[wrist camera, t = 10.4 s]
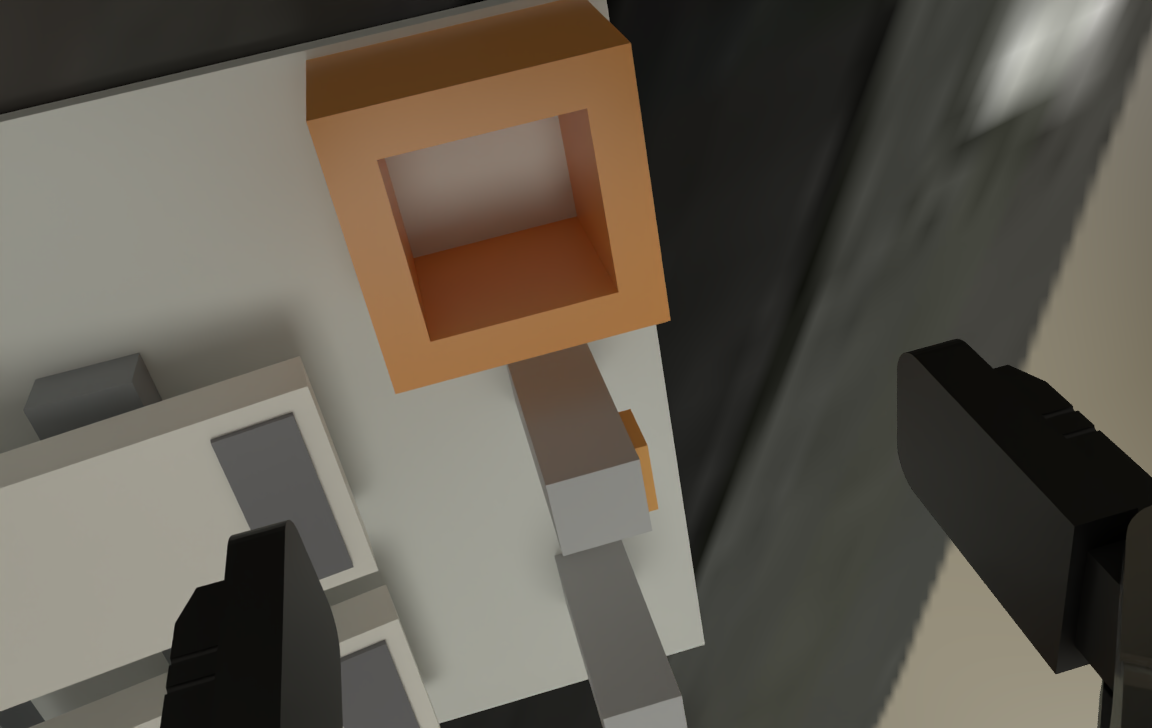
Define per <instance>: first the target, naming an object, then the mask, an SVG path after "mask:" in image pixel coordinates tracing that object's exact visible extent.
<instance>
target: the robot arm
mask: <svg viewBox="0 0 1152 728" xmlns="http://www.w3.org/2000/svg"><path fill="white" fill-rule="evenodd" d="M897 448H898V455H899V460H900V463H901V467H902V470H903V472H904V475H905V477H906V479H907V481H908V483H909V485H910V487H911V489H912V490H913V491H914V493H915V494H916V495H917V497H918V498H919V499H920V501H921V502H922V503H923V504H924V506H925V507H926V508H927V510H928V511H929V512H930V513H931V515H932V516H933V517H934V519H935V520H936V521H937V522H938V524H939V525H940V526H941V528H942V529H943V530H944V531H945V533H946V534H947V535H948V537H949V538H950V539H951V540H952V542H953V543H954V544H955V546H956V547H957V548H958V549H959V551H960V552H961V553H962V554H963V556H964V557H965V558H966V560H967V561H968V562H969V564H970V565H971V566H972V567H973V569H974V570H975V571H976V572H977V574H978V575H979V576H980V578H981V579H982V580H983V581H984V583H985V584H986V585H987V586H988V588H989V589H990V590H991V592H992V593H993V594H994V596H995V597H996V598H997V599H998V601H999V602H1000V603H1001V605H1002V606H1003V607H1004V608H1005V610H1006V611H1007V612H1008V614H1009V615H1010V616H1011V617H1012V619H1013V620H1014V621H1015V623H1016V624H1017V625H1018V626H1019V628H1020V629H1021V630H1022V632H1023V633H1024V634H1025V635H1026V637H1027V638H1028V639H1029V641H1030V642H1031V643H1032V644H1033V646H1034V647H1035V648H1036V649H1037V651H1038V652H1039V653H1040V655H1041V656H1042V657H1043V659H1044V660H1045V661H1046V662H1047V664H1048V665H1049V666H1050V667H1051V669H1052V670H1053V671H1054V673H1055V674H1058V673H1061V672H1065V671H1068V670H1071V669H1074V668H1078V667H1081V666H1084V665H1087V664H1090V665H1091V666H1092V667H1093V668H1094V669H1095V670H1096V672H1097V673H1098V674H1099V675H1100V677H1101V678H1102V685H1101V691H1100V698H1099V712H1098V726H1097V728H1152V477H1151V476H1150V475H1149V474H1147V473H1146V472H1145V471H1144V470H1143V469H1142V468H1141V467H1140V466H1139V465H1137V464H1136V463H1135V462H1134V461H1133V460H1132V459H1131V458H1130V457H1129V456H1128V455H1126V454H1125V453H1124V452H1123V451H1122V450H1121V449H1120V448H1119V447H1117V445H1115V444H1114V443H1113V442H1112V441H1111V440H1110V439H1109V438H1108V437H1107V436H1105V435H1104V434H1103V433H1102V432H1101V431H1100V430H1099V431H1096V430H1095V428H1094V425H1093V424H1092V423H1091V422H1090V421H1089V420H1088V419H1087V418H1086V417H1085V416H1083V415H1082V414H1081V413H1080V412H1079V411H1074V410H1073V406H1072V405H1071V404H1070V403H1069V402H1068V401H1067V400H1066V399H1065V398H1064V397H1062V396H1061V395H1060V394H1059V393H1058V392H1057V391H1056V390H1055V389H1054V388H1052V387H1051V386H1050V385H1049V384H1048V383H1047V382H1046V381H1043V380H1041V379H1039V378H1037V377H1034V376H1032V375H1030V374H1028V373H1025V372H1023V371H1021V370H1019V369H1016V368H1014V367H1012V366H1010V365H1005V366H1002V367H998V368H994V369H993V368H992V367H991V366H990V365H989V364H988V363H987V362H986V361H985V360H984V359H983V358H981V357H980V356H979V355H978V354H977V353H976V352H975V351H974V350H973V349H972V348H971V347H970V346H969V345H968V344H967V343H965V342H964V341H962V340H960V339H954V340H950V341H946V342H943V343H939V344H936V345H932V346H928V347H925V348H921V349H917V350H914V351H910V352H906V353H903V354H902V355H901V356H900V358H899V361H898V366H897ZM170 660H171V665H169V668H168V675H167V682H166V690H167V694H166V695H165V696H164V703H163V710H162V716H161V723H160V728H343V715H342V687H341V660H340V646H339V639H338V633H337V629H336V624H335V620H334V617H333V613H332V610H331V607H330V605H329V602H328V600H327V597H326V595H325V593H324V590H323V588H322V586H321V583H320V581H319V579H318V576H317V574H316V572H315V569H314V567H313V565H312V562H311V560H310V558H309V555H308V553H307V551H306V548H305V546H304V544H303V541H302V539H301V537H300V534H299V532H298V530H297V528H296V526H295V525H294V523H293V522H292V521H291V520H285V521H282V522H278V523H275V524H271V525H267V526H264V527H260V528H256V529H253V530H249V531H245V532H242V533H238V534H234V535H231V536H230V538H229V540H228V545H227V555H226V566H225V576H224V580H222V581H219V582H215V583H212V584H208V585H204V586H201V587H197V588H196V589H195V591H194V593H193V594H192V596H191V597H190V599H189V601H188V602H187V604H186V606H185V607H184V609H183V611H182V612H181V614H180V616H179V617H178V619H177V621H176V622H175V626H174V633H173V640H172V647H171V654H170Z"/></svg>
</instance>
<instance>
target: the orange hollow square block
mask: <svg viewBox="0 0 1152 728" xmlns="http://www.w3.org/2000/svg"><path fill="white" fill-rule="evenodd" d="M554 116H558V118H559V124H560V129H561V134H562V139H563V145H564V150H565V155H566V161H567V166H568V171H569V177H570V182H571V187H572V192H573V198H574V203H575V208H576V214H577V216H576V217H572V218H568V219H564V220H561V221H557V222H553V223H549V224H545V225H541V226H537V227H533V228H529V229H525V230H521V231H518V232H514V233H510V234H506V235H502V236H498V237H494V238H490V239H486V240H482V241H479V242H475V243H471V244H467V245H463V246H459V247H455V248H451V249H447V250H443V251H439V252H436V253H432V254H428V255H424V256H420V257H416V258H413V254H412V251H411V247H410V244H409V241H408V237H407V234H406V230H405V227H404V223H403V220H402V216H401V213H400V210H399V206H398V203H397V199H396V196H395V192H394V189H393V185H392V182H391V179H390V175H389V172H388V168H387V165H386V161H385V158H387V157H391V156H396V155H400V154H404V153H408V152H412V151H416V150H420V149H424V148H428V147H432V146H436V145H440V144H444V143H448V142H452V141H456V140H460V139H464V138H468V137H473V136H477V135H481V134H485V133H489V132H493V131H497V130H501V129H505V128H509V127H513V126H517V125H521V124H525V123H529V122H533V121H537V120H541V119H546V118H550V117H554ZM306 123H307V126H308V129H309V132H310V135H311V138H312V141H313V144H314V147H315V150H316V153H317V156H318V159H319V162H320V165H321V168H322V171H323V174H324V177H325V181H326V184H327V187H328V190H329V193H330V196H331V199H332V202H333V205H334V208H335V211H336V214H337V217H338V220H339V223H340V226H341V229H342V232H343V235H344V238H345V242H346V245H347V248H348V251H349V254H350V257H351V260H352V263H353V266H354V269H355V272H356V275H357V278H358V281H359V284H360V287H361V290H362V293H363V296H364V299H365V303H366V306H367V309H368V312H369V315H370V318H371V321H372V324H373V327H374V330H375V333H376V336H377V339H378V342H379V345H380V348H381V351H382V354H383V357H384V361H385V364H386V367H387V370H388V373H389V376H390V379H391V382H392V385H393V388H394V391H395V394H398V393H402V392H406V391H409V390H413V389H417V388H421V387H424V386H428V385H432V384H435V383H439V382H443V381H447V380H450V379H454V378H458V377H462V376H465V375H469V374H473V373H477V372H480V371H484V370H488V369H492V368H495V367H499V366H503V365H507V364H510V363H514V362H518V361H521V360H525V359H529V358H533V357H536V356H540V355H544V354H548V353H551V352H555V351H559V350H563V349H566V348H570V347H574V346H578V345H581V344H585V343H589V342H592V341H596V340H600V339H604V338H607V337H611V336H615V335H619V334H622V333H626V332H630V331H634V330H637V329H641V328H645V327H649V326H652V325H656V324H660V323H664V322H667V321H670V314H669V307H668V300H667V293H666V286H665V279H664V272H663V265H662V258H661V251H660V244H659V237H658V230H657V223H656V216H655V209H654V202H653V195H652V188H651V181H650V174H649V167H648V160H647V153H646V146H645V139H644V132H643V125H642V118H641V111H640V104H639V97H638V90H637V83H636V76H635V69H634V62H633V55H632V48H631V43H630V42H629V41H628V40H627V39H626V38H625V37H624V36H623V35H622V34H621V33H620V32H619V31H618V30H617V29H616V28H615V27H614V26H613V25H612V24H611V23H610V22H609V21H608V20H607V19H606V18H605V17H604V16H603V15H602V14H601V13H600V12H599V11H598V10H597V9H596V8H595V7H594V6H593V5H592V4H591V3H590V2H589V1H588V0H559V1H555V2H550V3H546V4H542V5H538V6H533V7H529V8H525V9H521V10H517V11H512V12H508V13H504V14H500V15H495V16H491V17H487V18H483V19H479V20H474V21H470V22H466V23H462V24H457V25H453V26H449V27H445V28H440V29H436V30H432V31H428V32H424V33H419V34H415V35H411V36H407V37H402V38H398V39H394V40H390V41H386V42H381V43H377V44H373V45H369V46H364V47H360V48H356V49H352V50H347V51H343V52H339V53H335V54H331V55H326V56H322V57H318V58H314V59H309V60H306Z"/></svg>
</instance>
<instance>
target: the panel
mask: <svg viewBox="0 0 1152 728" xmlns="http://www.w3.org/2000/svg"><path fill="white" fill-rule="evenodd" d="M555 1H559V0H486V1H482V2H477V3H473V4H469V5H465V6H460V7H456V8H452V9H448V10H443V11H439V12H435V13H431V14H426V15H422V16H418V17H414V18H409V19H405V20H401V21H397V22H392V23H388V24H384V25H379V26H375V27H371V28H367V29H362V30H358V31H354V32H350V33H345V34H341V35H337V36H333V37H328V38H324V39H320V40H316V41H311V42H307V43H303V44H299V45H294V46H290V47H286V48H282V49H277V50H273V51H269V52H265V53H260V54H256V55H252V56H248V57H243V58H239V59H235V60H231V61H226V62H222V63H218V64H214V65H209V66H205V67H201V68H197V69H192V70H188V71H184V72H180V73H175V74H171V75H167V76H162V77H158V78H154V79H150V80H145V81H141V82H137V83H133V84H128V85H124V86H120V87H116V88H111V89H107V90H103V91H99V92H94V93H90V94H86V95H82V96H77V97H73V98H69V99H65V100H60V101H56V102H52V103H48V104H43V105H39V106H35V107H31V108H26V109H22V110H18V111H14V112H9V113H5V114H1V115H0V454H1V453H4V452H7V451H10V450H13V449H16V448H19V447H22V446H25V445H28V444H31V443H35V442H38V441H41V440H44V439H47V438H50V437H53V436H56V435H59V434H62V433H65V432H68V431H71V430H74V429H77V428H80V427H84V426H87V425H90V424H93V423H96V422H99V421H102V420H105V419H108V418H111V417H114V416H117V415H120V414H123V413H126V412H129V411H133V410H136V409H139V408H142V407H145V406H148V405H151V404H154V403H157V402H160V401H163V400H166V399H169V398H172V397H175V396H178V395H182V394H185V393H188V392H191V391H194V390H197V389H200V388H203V387H206V386H209V385H212V384H215V383H218V382H221V381H224V380H227V379H231V378H234V377H237V376H240V375H243V374H246V373H249V372H252V371H255V370H258V369H261V368H264V367H267V366H270V365H273V364H276V363H280V362H283V361H286V360H289V359H292V358H295V357H298V356H300V357H301V360H302V362H303V365H304V368H305V370H306V373H307V376H308V378H309V381H310V383H311V386H312V389H313V391H314V394H315V397H316V399H317V402H318V404H319V407H320V410H321V412H322V415H323V418H324V420H325V423H326V426H327V428H328V431H329V433H330V436H331V439H332V441H333V444H334V447H335V449H336V452H337V454H338V457H339V460H340V462H341V465H342V468H343V470H344V473H345V475H346V478H347V481H348V483H349V486H350V489H351V491H352V494H353V497H354V499H355V502H356V504H357V507H358V510H359V512H360V515H361V518H362V520H363V523H364V525H365V528H366V531H367V533H368V536H369V540H370V543H371V547H372V550H373V554H374V557H375V561H376V564H377V568H378V571H376V572H373V573H370V574H368V575H365V576H362V577H360V578H357V579H354V580H352V581H349V582H346V583H344V584H341V585H338V586H336V587H333V588H330V589H327V590H325V591H324V593H325V595H326V597H327V600H328V602H329V605H330V607H331V606H333V605H336V604H338V603H341V602H343V601H346V600H348V599H351V598H353V597H356V596H358V595H361V594H363V593H366V592H368V591H371V590H373V589H376V588H378V587H381V586H383V585H387V588H388V591H389V593H390V596H391V598H392V601H393V604H394V606H395V609H396V612H397V614H398V617H399V619H400V622H401V625H402V627H403V630H404V633H405V635H406V638H407V640H408V643H409V646H410V648H411V651H412V654H413V656H414V659H415V661H416V664H417V667H418V669H419V672H420V675H421V677H422V680H423V682H424V685H425V688H426V690H427V693H428V696H429V698H430V701H431V704H432V706H433V709H434V711H435V714H436V717H437V719H438V722H439V723H442V722H446V721H449V720H452V719H456V718H459V717H462V716H466V715H469V714H472V713H476V712H479V711H483V710H486V709H489V708H493V707H496V706H499V705H503V704H506V703H509V702H513V701H516V700H520V699H523V698H526V697H530V696H533V695H536V694H540V693H543V692H546V691H550V690H553V689H557V688H560V687H563V686H567V685H570V684H573V683H577V682H580V681H583V680H587V679H589V682H590V686H591V689H592V692H593V696H594V699H595V702H596V706H597V709H598V713H599V716H600V719H601V723H602V726H603V728H687V724H686V718H685V712H684V707H683V701H682V696H681V693H680V690H679V688H678V685H677V683H676V680H675V677H674V675H673V672H672V670H671V667H670V664H669V662H668V659H667V657H666V656H668V655H671V654H674V653H678V652H681V651H684V650H688V649H691V648H694V647H698V646H701V645H705V643H704V637H703V630H702V623H701V617H700V610H699V604H698V597H697V591H696V584H695V578H694V571H693V564H692V558H691V551H690V545H689V538H688V532H687V525H686V519H685V512H684V505H683V499H682V492H681V486H680V479H679V473H678V466H677V459H676V453H675V446H674V440H673V433H672V427H671V420H670V414H669V407H668V400H667V394H666V387H665V381H664V374H663V368H662V361H661V355H660V348H659V341H658V335H657V328H656V325H652V326H649V327H645V328H641V329H637V330H634V331H630V332H626V333H622V334H619V335H615V336H611V337H607V338H604V339H600V340H596V341H592V342H589V343H585V344H581V345H578V346H574V347H570V348H566V349H563V350H559V351H555V352H551V353H548V354H544V355H540V356H536V357H533V358H529V359H525V360H521V361H518V362H514V363H510V364H507V365H503V366H499V367H495V368H492V369H488V370H484V371H480V372H477V373H473V374H469V375H465V376H462V377H458V378H454V379H450V380H447V381H443V382H439V383H435V384H432V385H428V386H424V387H421V388H417V389H413V390H409V391H406V392H402V393H398V394H395V391H394V388H393V385H392V382H391V379H390V376H389V373H388V370H387V367H386V364H385V361H384V357H383V354H382V351H381V348H380V345H379V342H378V339H377V336H376V333H375V330H374V327H373V324H372V321H371V318H370V315H369V312H368V309H367V306H366V303H365V299H364V296H363V293H362V290H361V287H360V284H359V281H358V278H357V275H356V272H355V269H354V266H353V263H352V260H351V257H350V254H349V251H348V248H347V245H346V242H345V238H344V235H343V232H342V229H341V226H340V223H339V220H338V217H337V214H336V211H335V208H334V205H333V202H332V199H331V196H330V193H329V190H328V187H327V184H326V181H325V177H324V174H323V171H322V168H321V165H320V162H319V159H318V156H317V153H316V150H315V147H314V144H313V141H312V138H311V135H310V132H309V129H308V126H307V123H306V60H309V59H314V58H318V57H322V56H326V55H331V54H335V53H339V52H343V51H347V50H352V49H356V48H360V47H364V46H369V45H373V44H377V43H381V42H386V41H390V40H394V39H398V38H402V37H407V36H411V35H415V34H419V33H424V32H428V31H432V30H436V29H440V28H445V27H449V26H453V25H457V24H462V23H466V22H470V21H474V20H479V19H483V18H487V17H491V16H495V15H500V14H504V13H508V12H512V11H517V10H521V9H525V8H529V7H533V6H538V5H542V4H546V3H550V2H555ZM588 1H589V2H590V3H591V4H592V5H593V6H594V7H595V8H596V9H597V10H598V11H599V12H600V13H601V14H602V15H603V16H604V17H605V18H606V19H607V20H608V21H609V22H610V20H609V14H608V7H607V0H588ZM385 161H386V165H387V168H388V172H389V175H390V179H391V182H392V185H393V189H394V192H395V196H396V199H397V203H398V206H399V210H400V213H401V216H402V220H403V223H404V227H405V230H406V234H407V237H408V241H409V244H410V247H411V251H412V254H413V258H416V257H420V256H424V255H428V254H432V253H436V252H439V251H443V250H447V249H451V248H455V247H459V246H463V245H467V244H471V243H475V242H479V241H482V240H486V239H490V238H494V237H498V236H502V235H506V234H510V233H514V232H518V231H521V230H525V229H529V228H533V227H537V226H541V225H545V224H549V223H553V222H557V221H561V220H564V219H568V218H572V217H576V216H577V214H576V208H575V203H574V198H573V192H572V187H571V182H570V177H569V171H568V166H567V161H566V155H565V150H564V145H563V139H562V134H561V129H560V124H559V118H558V116H554V117H550V118H546V119H541V120H537V121H533V122H529V123H525V124H521V125H517V126H513V127H509V128H505V129H501V130H497V131H493V132H489V133H485V134H481V135H477V136H473V137H468V138H464V139H460V140H456V141H452V142H448V143H444V144H440V145H436V146H432V147H428V148H424V149H420V150H416V151H412V152H408V153H404V154H400V155H396V156H391V157H387V158H385ZM170 654H171V648H169V649H166V650H164V651H161V652H158V653H156V654H153V655H150V656H148V657H145V658H142V659H140V660H137V661H134V662H131V663H129V664H126V665H123V666H121V667H118V668H115V669H113V670H110V671H107V672H105V673H102V674H99V675H97V676H94V677H91V678H89V679H86V680H83V681H80V682H78V683H75V684H72V685H70V686H67V687H64V688H62V689H59V690H56V691H54V692H51V693H48V694H46V695H43V696H40V697H38V698H35V699H32V700H29V701H27V702H24V703H21V704H19V705H16V706H13V707H11V708H8V709H5V710H3V711H0V728H29V727H32V726H34V725H37V724H39V723H42V722H44V721H47V720H49V719H52V718H54V717H57V716H59V715H62V714H64V713H67V712H69V711H72V710H74V709H77V708H79V707H82V706H84V705H87V704H89V703H92V702H94V701H97V700H99V699H102V698H104V697H106V696H109V695H111V694H114V693H116V692H119V691H121V690H124V689H126V688H129V687H131V686H134V685H136V684H139V683H141V682H144V681H146V680H149V679H151V678H154V677H156V676H159V675H161V674H164V673H166V672H168V668H169V665H171V660H170Z"/></svg>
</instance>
